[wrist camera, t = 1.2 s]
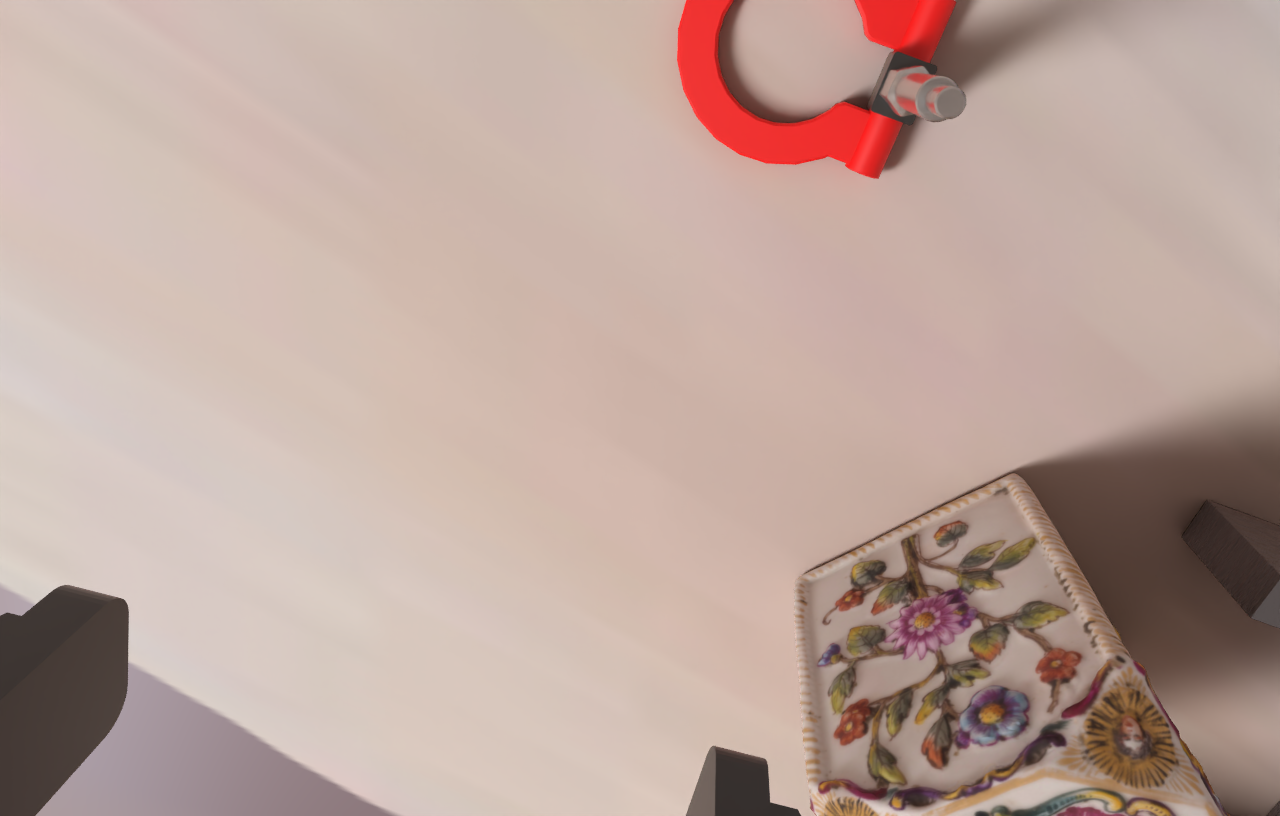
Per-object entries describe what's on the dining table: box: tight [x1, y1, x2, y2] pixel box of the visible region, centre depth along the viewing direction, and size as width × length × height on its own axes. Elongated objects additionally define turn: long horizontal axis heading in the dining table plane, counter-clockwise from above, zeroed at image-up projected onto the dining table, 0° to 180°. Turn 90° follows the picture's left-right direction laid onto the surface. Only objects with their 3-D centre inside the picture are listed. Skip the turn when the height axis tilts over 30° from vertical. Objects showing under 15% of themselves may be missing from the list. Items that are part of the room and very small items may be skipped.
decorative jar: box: [794, 473, 1230, 816], centre depth 34 cm, size 12×12×18 cm
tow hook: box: [677, 0, 966, 179], centre depth 28 cm, size 8×13×9 cm
